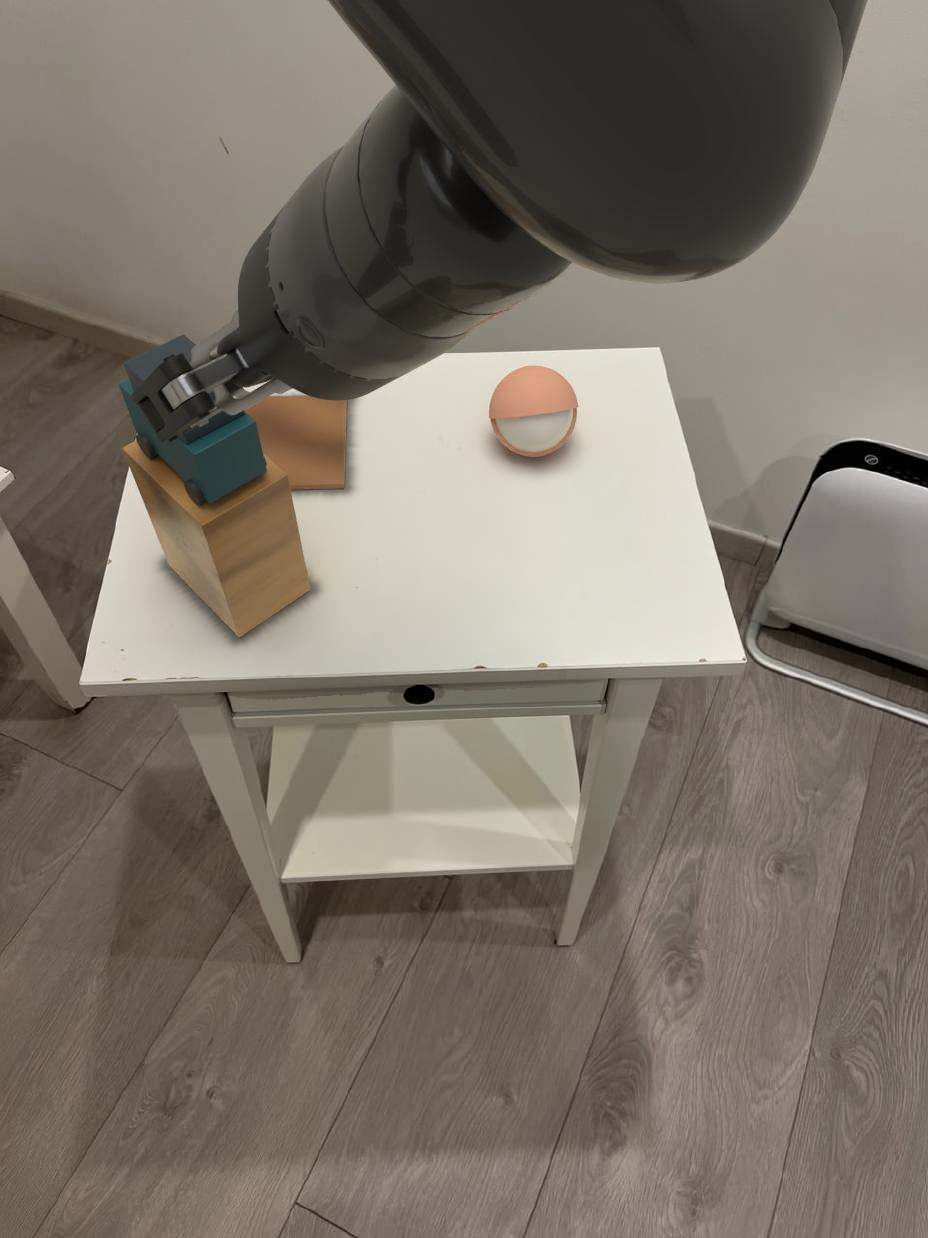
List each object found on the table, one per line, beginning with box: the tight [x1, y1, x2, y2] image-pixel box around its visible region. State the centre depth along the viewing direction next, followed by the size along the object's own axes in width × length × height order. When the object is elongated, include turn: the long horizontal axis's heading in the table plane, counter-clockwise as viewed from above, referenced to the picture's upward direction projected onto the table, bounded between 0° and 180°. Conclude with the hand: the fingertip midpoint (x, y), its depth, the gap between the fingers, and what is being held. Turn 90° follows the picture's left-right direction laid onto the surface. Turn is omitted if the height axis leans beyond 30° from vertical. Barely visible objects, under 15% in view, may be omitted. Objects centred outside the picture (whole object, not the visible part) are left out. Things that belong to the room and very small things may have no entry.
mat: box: [244, 394, 348, 491], centre depth 80 cm, size 12×12×1 cm
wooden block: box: [122, 440, 311, 638], centre depth 66 cm, size 10×7×13 cm
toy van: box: [118, 334, 267, 506], centre depth 57 cm, size 9×5×8 cm, turn 43°
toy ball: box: [488, 365, 579, 458], centre depth 78 cm, size 8×8×8 cm
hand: (244, 377), depth 47 cm, fingers open, 8 cm apart
